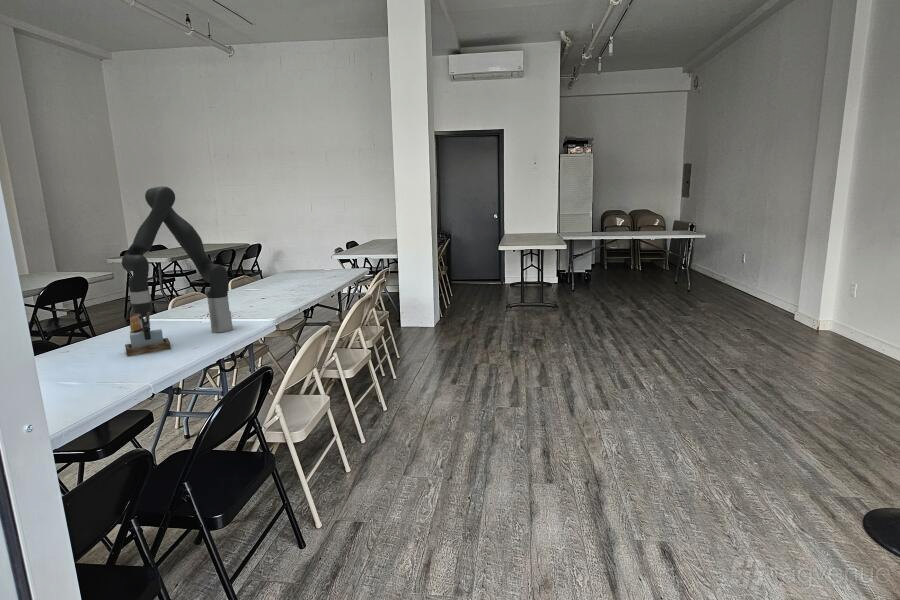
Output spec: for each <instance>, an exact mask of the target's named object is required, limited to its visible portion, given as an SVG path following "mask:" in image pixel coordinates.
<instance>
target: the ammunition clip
mask: <svg viewBox="0 0 900 600" xmlns="http://www.w3.org/2000/svg"><path fill="white" fill-rule="evenodd" d="M138 316H139V314H135V315H132V316H130V318H129V323H130V324H129V326H130V332H129V334H131V333H138V332H143V331H142V327H141V325H140V322H139V318H138Z"/></svg>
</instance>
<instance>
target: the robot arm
mask: <svg viewBox="0 0 900 600" xmlns="http://www.w3.org/2000/svg"><path fill="white" fill-rule="evenodd" d="M144 198H145V199H144V200H145V201H146V204H147V205H148V207H150V208H151V211H150V212H149V214H148V215H147V217H146V218H145V220H143V223H141V225H140V226H139V228H138V229H137V231H136V234H135V237H134V238H133V242H132V244H130V246H129V247H128V249H127V250H126V251H125V253H124V254H123V256H122V258H121V259H122V260H121V266H122V268H123V269H124V270H125V271H128V272H132V277H130V278H129V279H128V287H129V288H128V289H129V298H130V304H131V310H132V313H133V314H135V315H137V317H138V318H139V322H140V325H141V327H142V331H143V332H144V336H145V340H150V339H151V335H150V331H151V320H150V315H149V314H148V313H151V312H152V311H153V310H154V309H153V303H152V297H151V292H150V288H149V282H148V279H149V271H150V265H149V261H148V259H147V258H146V256H144V255H145V254H146V253H149V252H150V251H151V250H152V247H153V245H154V242H155V239H156V237H157V235H158V233H159V230H160V228H161V226H162V224H163V223H164V224H165V226H166V227H167V229H168V230H169V231H170V233H171V234H172V235H173V237H174V238H175V240H176V241H177V243H178V244H179V246H180V247H181V248H182V250H183V251H184V252H185V253H186V255H187V256H188V257H189V259H190V260H191V261H192V262H193V265H194V266H195V268H196V269H197V271H198V273H199V274H200V277H201V278H202V279H203V280H204V281H206V282H207V283H209V286H210V289H209V290H208V291H207V292H206V296H207V306H208V314H209V321H210V329H211V333H215V334H217V333H225V332H226V333H227V332H229V331H233V330H234V329H233V320H232V318H233V317H232V311H231V310H230V303H229V296H228V294H229V289H230V287H229V275H228V271H227V268H226V267H225V266H224V265H222V264H218V263H217V264H216V263H214V262H213V261H212V260H211V259H210V257H208V255H207V254H206V251H205V247H204V244H203V243H204V242H203V241H202V238H201V236H200V235H199V233H198V232H197V231H196V229H195V228H194V226H193V225H191V224H190V223H189V222H188V221H187V220H185V219H184V218H183V217H182V216H180V215H179V213H177V212H176V211H175V210H174V208H173V206H174V205H175V204H174V203H175V201H176V194H175V192H174V190H173V189H172V188H170V187H168V186H156V187H151V188H147V190H146V191H145V193H144ZM138 314H139V316H138Z"/></svg>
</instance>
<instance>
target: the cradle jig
mask: <svg viewBox="0 0 900 600" xmlns="http://www.w3.org/2000/svg"><path fill="white" fill-rule="evenodd" d="M163 341H164V343H158V344H152V345H146V346H140V347H134V348H132V347H131V343H126V344H124V347H125V352H126V356H127V357H133V356H138V355H139V356H140V355H145V354H151V353H156V352H163V351H168V350H172V346H171V345H172V344H171V341H170V340H169V338H168V337H163Z"/></svg>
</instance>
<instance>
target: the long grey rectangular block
mask: <svg viewBox="0 0 900 600" xmlns="http://www.w3.org/2000/svg"><path fill="white" fill-rule="evenodd" d="M150 335H151V339H150V340H145V336H144V332H138V333H129V339H130V344H131V347H132V348H134V347H140V346H146V345H152V344H158V343H164V341H163V338H164V335H163V330H162V329H161V328H160V329H154V330H150Z"/></svg>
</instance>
